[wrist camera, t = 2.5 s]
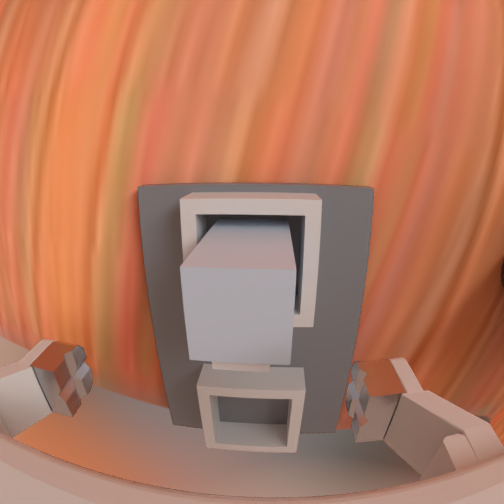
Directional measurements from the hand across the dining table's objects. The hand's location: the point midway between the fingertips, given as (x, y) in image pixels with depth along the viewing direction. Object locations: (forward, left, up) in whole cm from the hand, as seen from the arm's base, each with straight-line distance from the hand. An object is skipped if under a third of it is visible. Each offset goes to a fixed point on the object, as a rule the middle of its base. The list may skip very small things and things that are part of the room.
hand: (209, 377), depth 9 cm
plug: (-1, 0, -11) cm, 11 cm away
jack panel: (-1, +6, -12) cm, 13 cm away
